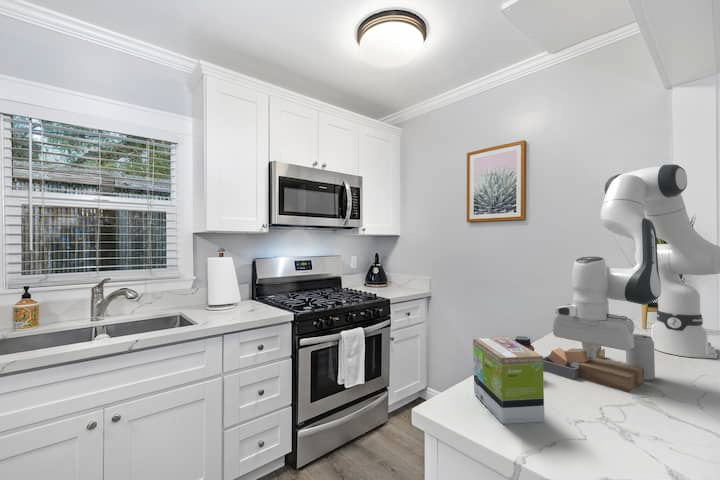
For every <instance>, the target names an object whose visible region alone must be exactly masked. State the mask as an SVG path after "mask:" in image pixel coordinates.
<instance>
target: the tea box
mask: <svg viewBox="0 0 720 480" xmlns="http://www.w3.org/2000/svg"><path fill="white" fill-rule="evenodd" d="M472 343H473V344H472V347H473V348H472V350H473V351H472V354H473V391H474V392H473V393H474V395H475V396H476V397H478V399H479V400H480V401H481V402H482V403H483V405H485V407H486V408H488V410H489V411H490V412H491V413H492V414H493V415H494V417H495V418H496V419H497V420H498V421H499V422H500V423H501V424H502V425H509V424H511V423H514V424H529V423H541V422H542V423H543V422H545V392H544V387H545V386H544V385H545V384H544V382H545V381H544V380H545V379H544V371H543V357H544V356H543V355H542V354H539V353H538V352H536V351H535V350H534V351H532V350H530V349H528V348H527V347H525V346H523V345H521V344H519V343H517V342H516V341H515V340H514V339H512V338H510V337H509V336H508V337H491V338H473V341H472Z"/></svg>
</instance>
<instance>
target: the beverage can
mask: <svg viewBox="0 0 720 480" xmlns="http://www.w3.org/2000/svg"><path fill="white" fill-rule="evenodd" d="M633 336H634V343H635V346H634V348H633V349H631V350H629V351H625V359H626V360H625V363H626V365H630V366H634V367H639V368H643V369H644V381H647V382H648V381H652V380H654V379H655V378H656V368H655V364H656V363H655V349H654V342H653V340H652V337H651V336H649V335H646V334H640V333H639V334H638V333H633Z"/></svg>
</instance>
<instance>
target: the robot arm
mask: <svg viewBox="0 0 720 480" xmlns="http://www.w3.org/2000/svg"><path fill="white" fill-rule="evenodd" d="M687 185H688V176H687V172H686V170H685V168H684V167H682V166H680V165H678V164H663V165H659V166H650V167H645V168H644V167H643V168H639V169H636V170H632V171H628V172H625V173H619V174H616V175H613V176H611V177H609V178H608V180H607V181H606V182H605V185H604V198H603V201H602V205H601V210H600V213H599V214H600V217H599V218H600V222H601V224H602V225H603V226H604V228H606V229H607V230H609V231H610V232H611V233H613V234H616V235H618V236H622V237H626V238H629V239H632V240H634V242H635V253H634V262H635V263H634V264H635V266H633V267H631V268H624V267H611V266H608V265H606V264H607V263H606V261H605V259H604V258H603V257H600V256H586V257H585V256H583V257H579V258H577V259H575V260H574V262H573V265H572V266H573V267H572V275H571V287H572V289H573V290H572V291H573V296H572V303H570V304H565V305H561V306H558V307H555V309H554V311H555V312H554V313H555V316H554V317H553V320H552V334H553V336H555V337H556V338H561V339H566V340H570V341H575V342H580V343H581V346H582V349H583V348H584V350H585V351H586V352H587V358H589V359H596V352H597V351H598V350H599V348H600V346H601V347H605V348H611V349H614V350H615V349H616V350H620V351H625V352H626V351H629V350H631V349H633V348H634V346H635V343H634V336H633V334H634V331H635V323H634V321H633V319H631V318H630V317H628V316H625V315H619V314H618V315H617V314H612V313H609V300H613V301H622V302H623V301H624V302H629V303H633V304H638V305H643V306H646V305H648V304H651V303H652V302H654V301H656V300H657V310H656V322H655V323H653V324H652V325H651V336H650V337H652V340H653V342H654V350H656V351H659V352H661V353H666V354H669V355H674V356H679V357H680V356H681V357H688V358H698V359H700V358H702V359H703V358H704V359H705V358H706V359H718V354H717V350H716V347H714V346H712V343H711V342H709V340H708V339H709V338H708V332H707V331H706V330H705V328H704V327H703V324H704V322H703V321H704V319H703V315H702V313H701V295H700V293H699V291H698V290H697V289H696V288H694V287H693V286H691V285H688V284H687V283H685V282H684V281H683V280H682V279H681V277H680V275H688V276H689V275H690V276H691V275H692V276H711V275H717V274H718V275H719V274H720V246H719V245H716V244H714V243H712V242H710V241H708V240H707V239H705V238H704V237H702V236H701V235H700V234H699V232H697V231H696V230H695V228H694V227H693V225H692V224H691V223H692V222H691V221H690V218H689V215H688V213H687V209H686V208H687V207H686V204H685V202H684V199H683V196H682V193H683V192H684V191H685V190H686V188H687ZM657 239H660V240H662V241H664V242H666V243H658V240H657ZM608 299H609V300H608ZM590 344H592V348H594V349H593V351H592V352H591V350H590V348H589V345H590Z"/></svg>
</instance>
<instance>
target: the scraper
mask: <svg viewBox="0 0 720 480" xmlns="http://www.w3.org/2000/svg"><path fill="white" fill-rule="evenodd" d="M589 348H590V350H591V352H592V351H593V349H594V348H592V344H590V345H589ZM582 349H584V348H583V347H582ZM596 358H601V359H605V358H606V349H605V348H603V347H602V346H600V348H599V350H598V351H597V352H596Z"/></svg>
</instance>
